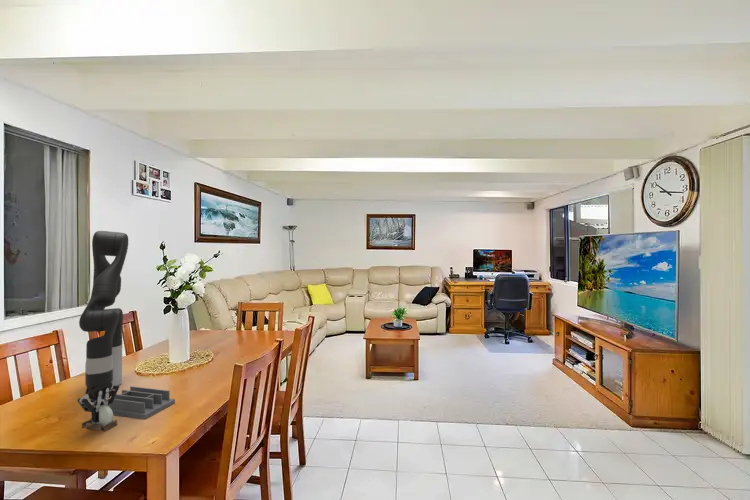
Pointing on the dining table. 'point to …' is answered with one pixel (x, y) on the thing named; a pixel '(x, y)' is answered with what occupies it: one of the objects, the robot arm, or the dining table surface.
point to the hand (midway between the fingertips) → (99, 420)
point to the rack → (140, 402)
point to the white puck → (104, 415)
